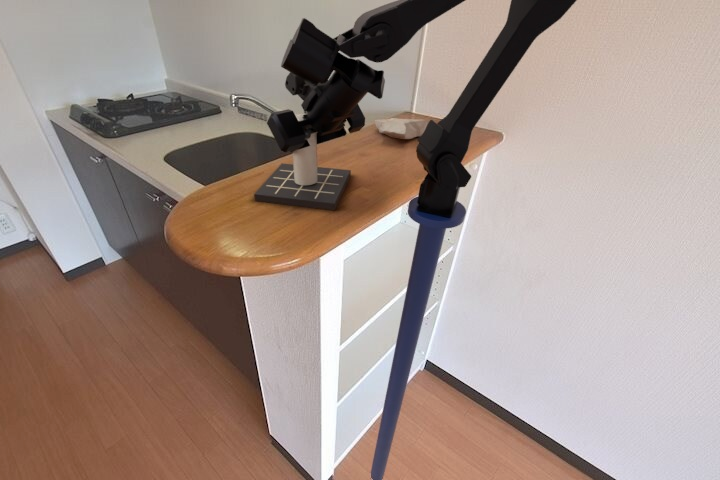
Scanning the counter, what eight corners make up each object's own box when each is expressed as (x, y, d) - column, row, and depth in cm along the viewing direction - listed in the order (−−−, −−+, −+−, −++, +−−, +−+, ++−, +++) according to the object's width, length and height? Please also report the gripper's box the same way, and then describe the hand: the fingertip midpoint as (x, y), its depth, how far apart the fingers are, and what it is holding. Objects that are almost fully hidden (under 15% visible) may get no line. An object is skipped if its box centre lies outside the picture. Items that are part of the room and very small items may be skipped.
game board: (350, 176, 78) (350, 169, 77) (334, 210, 66) (334, 203, 65) (282, 169, 81) (281, 162, 80) (254, 200, 69) (253, 193, 68)
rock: (353, 139, 98) (401, 146, 89) (353, 122, 96) (402, 127, 87) (393, 128, 112) (438, 132, 103) (394, 112, 109) (440, 115, 101)
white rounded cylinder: (321, 178, 73) (320, 112, 65) (310, 187, 70) (308, 118, 62) (301, 174, 75) (298, 109, 67) (289, 182, 72) (285, 115, 64)
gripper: (358, 45, 61) (317, 102, 74) (267, 56, 51) (239, 119, 64) (388, 103, 61) (341, 149, 74) (303, 124, 51) (267, 173, 65)
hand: (300, 146), depth 69 cm, fingers closed on white rounded cylinder, 5 cm apart
